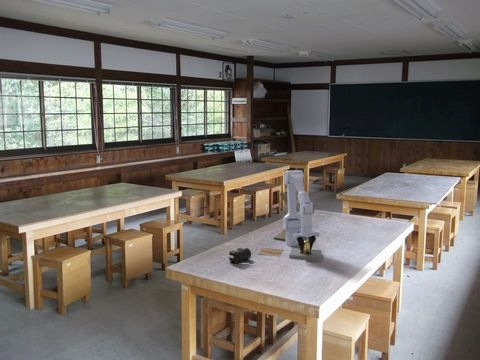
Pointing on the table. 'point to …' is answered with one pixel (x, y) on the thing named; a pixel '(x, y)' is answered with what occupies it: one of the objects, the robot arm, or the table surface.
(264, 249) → the stand pad
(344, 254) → the table surface
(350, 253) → the table surface
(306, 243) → the brass peg
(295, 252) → the grey square socket plate
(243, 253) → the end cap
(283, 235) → the embossing press
